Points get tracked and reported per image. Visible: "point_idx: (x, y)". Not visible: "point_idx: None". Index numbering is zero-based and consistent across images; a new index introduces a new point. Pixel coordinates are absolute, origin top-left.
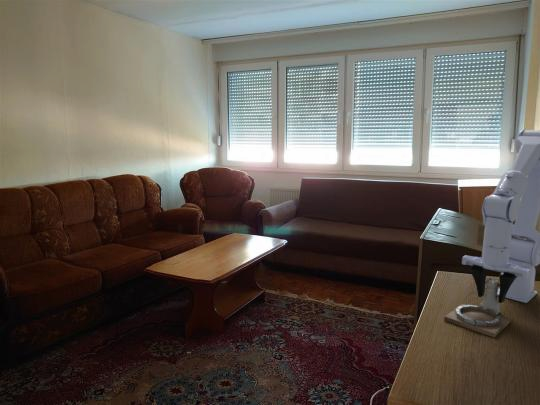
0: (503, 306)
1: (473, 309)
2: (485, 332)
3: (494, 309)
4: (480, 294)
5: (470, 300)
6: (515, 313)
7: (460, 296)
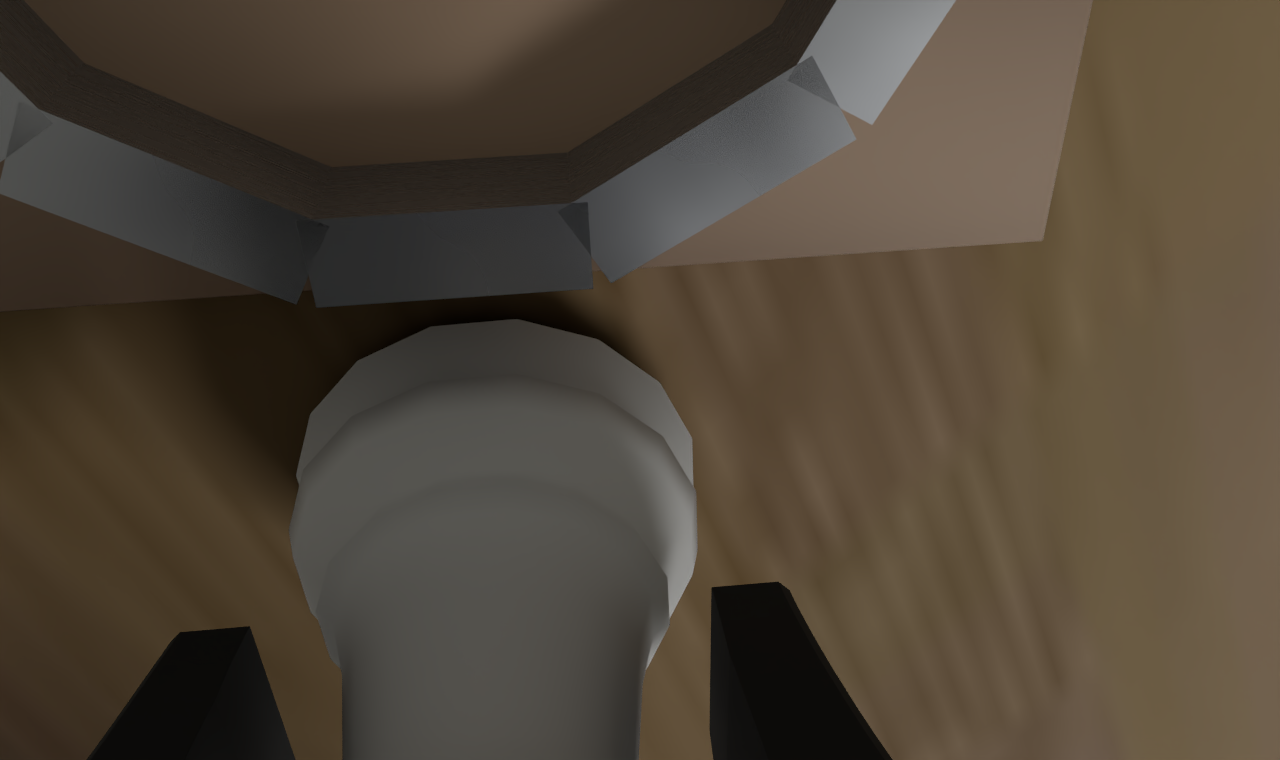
0: None
1: (694, 83)
2: None
3: (331, 444)
4: (734, 639)
5: (950, 597)
6: None
7: (1142, 615)
